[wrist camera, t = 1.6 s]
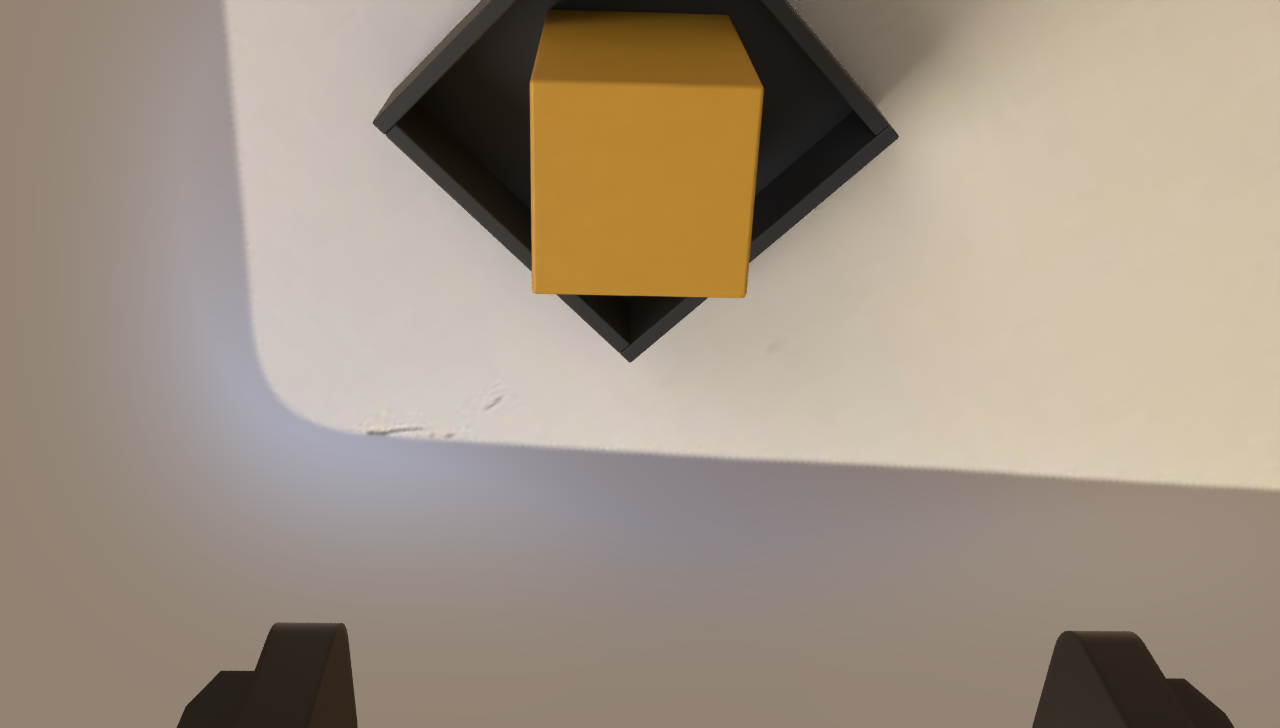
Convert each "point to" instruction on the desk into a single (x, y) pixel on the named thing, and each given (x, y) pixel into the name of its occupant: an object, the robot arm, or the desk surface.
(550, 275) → the mustard box
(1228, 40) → the desk surface
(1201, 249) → the desk surface
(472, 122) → the front bin
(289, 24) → the desk surface
